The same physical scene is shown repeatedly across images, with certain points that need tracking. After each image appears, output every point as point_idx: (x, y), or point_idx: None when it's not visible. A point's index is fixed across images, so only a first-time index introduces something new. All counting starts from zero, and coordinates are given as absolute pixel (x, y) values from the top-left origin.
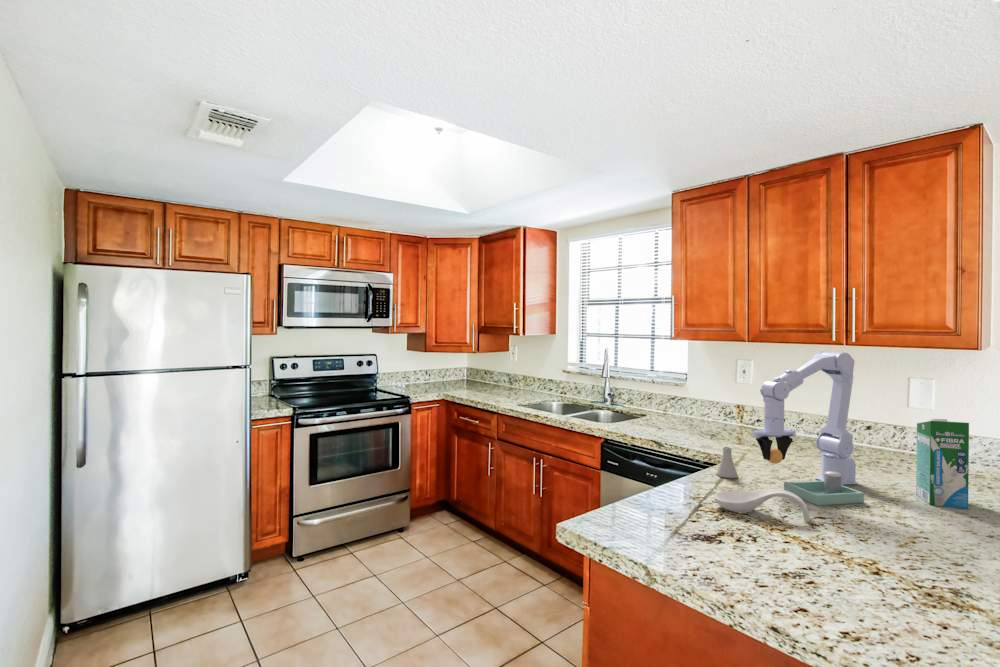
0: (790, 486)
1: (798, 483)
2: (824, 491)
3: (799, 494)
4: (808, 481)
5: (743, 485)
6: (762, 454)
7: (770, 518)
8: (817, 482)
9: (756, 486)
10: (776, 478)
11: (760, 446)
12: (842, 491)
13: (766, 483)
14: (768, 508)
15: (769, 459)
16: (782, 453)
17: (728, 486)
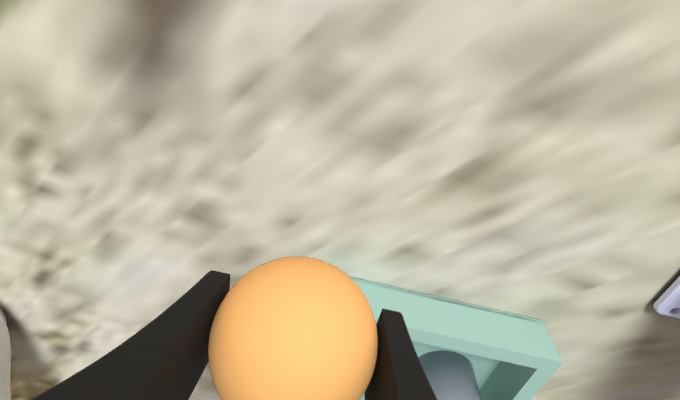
0: None
1: None
2: (424, 366)
3: None
4: (434, 336)
5: (160, 106)
6: (185, 293)
7: (40, 377)
8: (472, 351)
9: (227, 152)
10: (526, 76)
11: (93, 374)
12: (490, 396)
13: (338, 134)
14: (83, 338)
15: None
16: (371, 398)
17: (50, 85)
